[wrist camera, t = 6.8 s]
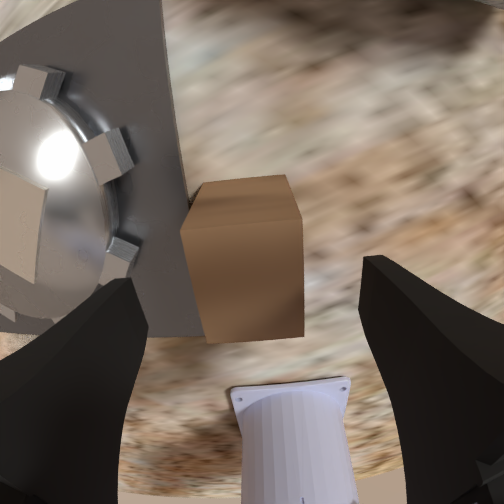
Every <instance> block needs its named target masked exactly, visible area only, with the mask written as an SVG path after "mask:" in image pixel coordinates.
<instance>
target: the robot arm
mask: <svg viewBox="0 0 504 504" xmlns="http://www.w3.org/2000/svg"><path fill="white" fill-rule="evenodd" d="M358 311H359V315H360V319H361V323H362V326H363V330H364V333H365V337H366V339H367V342H368V344H369V347H370V349H371V352H372V354H373V356H374V359H375V361H376V364H377V366H378V369H379V371H380V374H381V376H382V379H383V381H384V384H385V386H386V389H387V392H388V394H389V398H390V401H391V404H392V408H393V412H394V416H395V420H396V425H397V429H398V434H399V440H400V445H401V451H402V457H403V464H404V472H405V480H406V494H407V504H504V324H501V323H499V322H497V321H494V320H492V319H490V318H488V317H486V316H484V315H482V314H480V313H478V312H476V311H474V310H472V309H470V308H468V307H466V306H464V305H462V304H460V303H459V302H457V301H455V300H454V299H452V298H450V297H449V296H447V295H445V294H443V293H442V292H440V291H439V290H437V289H435V288H434V287H432V286H431V285H429V284H428V283H426V282H424V281H423V280H421V279H420V278H418V277H417V276H415V275H414V274H412V273H411V272H409V271H408V270H406V269H405V268H403V267H402V266H400V265H399V264H397V263H395V262H394V261H392V260H390V259H389V258H387V257H385V256H383V255H375V256H365V257H363V268H362V279H361V289H360V298H359V306H358ZM148 328H149V325H148V323H147V320H146V318H145V315H144V312H143V310H142V307H141V304H140V301H139V299H138V296H137V293H136V290H135V287H134V284H133V281H132V279H131V277H128V278H115V279H113V280H111V281H110V282H108V283H107V284H105V285H104V286H103V287H101V288H100V289H99V290H97V291H96V292H95V293H94V294H92V295H91V296H90V297H88V298H87V299H86V300H85V301H84V302H82V303H81V304H80V305H79V306H77V307H76V308H75V309H74V310H72V311H71V312H70V313H69V314H67V315H66V316H65V317H64V318H62V319H61V320H60V321H58V322H57V323H56V324H55V325H53V326H52V327H51V328H49V329H48V330H47V331H46V332H44V333H43V334H41V335H40V336H39V337H37V338H36V339H34V340H33V341H31V342H30V343H28V344H27V345H25V346H24V347H22V348H21V349H19V350H18V351H16V352H14V353H12V354H11V355H9V356H7V357H5V358H4V359H2V360H0V504H118V496H117V495H118V494H117V493H118V465H119V454H120V444H121V437H122V430H123V424H124V418H125V414H126V410H127V406H128V403H129V400H130V396H131V393H132V390H133V387H134V383H135V380H136V377H137V374H138V371H139V368H140V364H141V361H142V358H143V355H144V351H145V346H146V340H147V334H148ZM350 385H351V382H350V378H349V377H337V378H330V379H323V380H315V381H306V382H297V383H287V384H276V385H263V386H248V387H234V388H232V389H231V392H230V396H231V400H232V403H233V407H234V411H235V414H236V418H237V421H238V425H239V428H240V432H241V435H242V483H241V504H359V500H358V495H357V489H356V484H355V478H354V473H353V467H352V462H351V457H350V452H349V447H348V442H347V438H346V433H345V428H344V423H343V417H344V413H345V409H346V404H347V399H348V395H349V390H350Z"/></svg>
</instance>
